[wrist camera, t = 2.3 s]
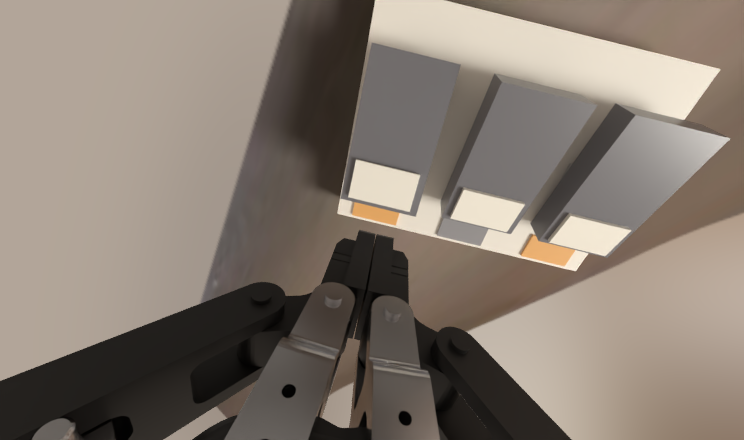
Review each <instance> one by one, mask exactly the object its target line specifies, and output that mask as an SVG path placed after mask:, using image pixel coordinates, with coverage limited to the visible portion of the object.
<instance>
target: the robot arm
mask: <svg viewBox="0 0 744 440" xmlns="http://www.w3.org/2000/svg"><path fill="white" fill-rule="evenodd" d="M374 240H375V243H374ZM393 240H394V238H392V237H387V236H383V235H379V234H377V235H376V239H375V233H370V232H366V231H362V230H359V232H358V236H357V239H356V241H354V240H350V239H346V238H344V239H342V240H341V241H340V242H338V243H337V244H336V247H335V249H334V252H333V255H332V257H331V260H330V262H329V265H328V267H327V270H326V273H325V275H324V278H323V280H322V283H321V285H319V286H317V287H316V288H315V289H314V290H313V292H312V293H310V294H307V295H302V296H285V293H284V291H283V290H282V289H281V288H280V287H279V286H277V285H275V284H273V283H268V282H258V283H253V284H250V285H248V286H245V287H243V288H240V289H237V290H235V291H232V292H230V293H227V294H224V295H222V296H219V297H217V298H214V299H211V300H209V301H206V302H204V303H201V304H199V305H196V306H193V307H191V308H188V309H186V310H183V311H181V312H178V313H175V314H173V315H170V316H168V317H165V318H162V319H160V320H157V321H155V322H152V323H149V324H147V325H144V326H142V327H139V328H136V329H134V330H131V331H129V332H126V333H124V334H121V335H118V336H116V337H113V338H111V339H108V340H105V341H103V342H100V343H98V344H95V345H93V346H90V347H87V348H85V349H83V350H80V351H77V352H75V353H72V354H69V355H67V356H64V357H62V358H59V359H57V360H54V361H51V362H49V363H46V364H43V365H41V366H38V367H36V368H33V369H31V370H28V371H25V372H23V373H20V374H17V375H15V376H13V377H10V378H7V379H5V380H2V381H0V440H163V439H165V438H166V437H168V436H170V435H171V434H173V433H174V432H176V431H177V430H179V429H181V428H182V427H184V426H185V425H187V424H189V423H190V422H192V421H193V420H195V419H196V418H198V417H199V416H201V415H203V414H204V413H206V412H207V411H209V410H211V409H212V408H214V407H215V406H217V405H219V404H220V403H222V402H223V401H225V400H226V399H228V398H230V397H231V396H233V395H234V394H236V393H237V392H239V391H241V390H242V389H244V388H245V387H247V386H249V385H250V384H252V383H253V382H255V381H256V380H257V382H256V384H255V386H254V387H253V389H252V391H251V393H250V394H249V396H248V398H247V400H246V402H245V403H244V405H243V407H242V409H241V411H240V412H239V414H238V415H236V416H233V417H230V418H228V419H225V420H223V421H221V422H219V423H217V424H215V425H213V426H212V427H210V428H208V429H207V430H205V431H204V432H202V433H201V434H199V435H198V436H197V437H195V438H194V439H192V440H571V439H570V438H569V437H568V436H567V435H566V433H564V431H563V430H562V429H561V428H560V427H559V426H558V425H557V424H556V423H555V422H554V421H553V420H552V419H551V418H550V417H549V416H548V415H547V414H546V413H545V412H544V411H543V410H542V409H541V408H540V406H539V405H538V404H537V403H536V402H535V401H534V400H533V399H532V398H531V397H530V396H529V395H528V394H527V393H526V392H525V391H524V390H523V389H522V388H521V387H520V386H519V385H518V384H517V383H516V382H515V381H514V380H513V378H512V377H510V375H509V374H508V373H507V372H506V371H505V370H504V369H503V368H502V367H501V366H500V365H499V364H498V363H497V362H496V361H495V360H494V359H493V358H492V357H491V356H490V355H489V354H488V352H487V351H486V350H484V348H483V347H482V346H481V345H480V344H479V343H478V342H477V341H476V340H475V339H474V338H473V337H472V336H471V335H470V334H468V333H467V332H465V331H463V330H461V329H459V328H455V327H445V328H442V329H441V330H440V331H439V332H436V331H434V330H432V329H430V328H428V327H426V326H425V325H423V324H422V323H420V322H419V321H418V320H417V319H416V318H415V317H414V314H413V311H412V309H411V307H410V306H409V299H408V260H407V258H406V256H405V255H404V253H403V252H400V251H396V250H393ZM373 246H374V247H373ZM357 320H358V322H357ZM356 323H357V327H356ZM355 327H356V332H355V338H354V339H357V340H360V346H359V351H358V354H357V358H356V363H355V374H354V386H353V398H352V409H351V419H350V425H349V428H339V427H337V426H335V425H333V424H331V423H330V422H328V421H326V420H324V419H323V418H322V416H323V413H324V410H325V406H326V403H327V400H328V397H329V393H330V390H331V387H332V384H333V381H334V378H335V374H336V371H337V368H338V365H339V362H340V358H341V354H342V353H343V352H344V350H345V347H346V343H347V339H348V338H353V334H354V331H355ZM462 397H463V398H462ZM469 406H470V407H469ZM473 411H474V412H473ZM477 416H478V417H477ZM484 425H485V426H484Z"/></svg>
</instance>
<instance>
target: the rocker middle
mask: <svg viewBox="0 0 744 440" xmlns="http://www.w3.org/2000/svg"><path fill="white" fill-rule="evenodd" d="M597 106H598V105H596V104H595V103H593V102H592V101H590V100H588V99H587V98H585V97H584V96H582V95H581V94H577V93H573V92H569V91H565V90H560V89H556V88H552V87H548V86H544V85H540V84H536V83H532V82H528V81H524V80H520V79H516V78H512V77H508V76H504V75H500V74H496V73H494V76H493V78H492V80H491V83H490V85H489V88H488V90H487V92H486V95H485V97H484V99H483V102H482V104H481V106H480V109H479V111H478V114H477V116H476V118H475V121H474V123H473V125H472V128H471V130H470V132H469V135H468V137H467V140H466V142H465V144H464V147H463V149H462V151H461V154H460V156H459V158H458V161H457V163H456V166H455V168H454V170H453V173H452V175H451V177H450V180H449V182H448V184H447V187H446V189H445V192H444V194H443V196H442V199H441V201H440V204H441V217H442V218H446V219H450V220H454V221H458V222H462V223H466V224H470V225H474V226H479V227H483V228H487V229H491V230H495V231H499V232H503V233H507V234H511V233H512V232H513V230H514V229H515V227H516V226H517V224H518V223H519V221H520V220H521V218H522V217H523V215H524V214H525V212H526V211H527V210H528V208H529V207H530V205H531V204H532V202H533V201H534V199H535V198H536V196H537V195H538V193H539V192H540V190H541V189H542V187H543V186H544V184H545V183H546V181H547V180H548V178H549V177H550V175H551V174H552V172H553V171H554V170H555V168H556V167H557V165H558V164H559V162H560V161H561V159H562V158H563V156H564V155H565V153H566V152H567V150H568V149H569V147H570V146H571V144H572V143H573V141H574V140H575V138H576V137H577V135H578V134H579V132H580V131H581V129H582V128H583V127H584V125H585V124H586V122H587V121H588V119H589V118H590V116H591V115H592V113H593V112H594V110H595V109H596V107H597Z"/></svg>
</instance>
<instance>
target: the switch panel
mask: <svg viewBox="0 0 744 440" xmlns="http://www.w3.org/2000/svg"><path fill="white" fill-rule="evenodd" d="M372 43H376V44H380V45H384V46H388V47H392V48H396V49H400V50H404V51H408V52H412V53H416V54H420V55H424V56H428V57H432V58H436V59H440V60H444V61H449V62H453V63H457V64H461V66H460V70H459V73H458V76H457V80H456V83H455V87H454V90H453V93H452V97H451V100H450V103H449V107H448V110H447V113H446V117H445V120H444V124H443V127H442V130H441V134H440V137H439V140H438V144H437V147H436V150H435V154H434V157H433V161H432V164H431V167H430V171H429V174H428V177H427V181H426V184H425V187H424V191H423V194H422V198H421V201H420V204H419V208H418V211H417V214H416V217H414V216H410V215H406V214H402V213H398V212H394V211H389V210H385V209H381V208H377V207H373V206H369V205H365V204H361V203H356V202H352V201H348V200H344V199H340V202H339V207H338V213H337V214H341V215H345V216H349V217H353V218H358V219H362V220H366V221H370V222H374V223H378V224H382V225H387V226H391V227H395V228H399V229H403V230H407V231H411V232H415V233H420V234H424V235H428V236H432V237H436V238H440V239H444V240H449V241H453V242H457V243H461V244H465V245H469V246H473V247H477V248H482V249H486V250H490V251H494V252H498V253H502V254H506V255H511V256H515V257H519V258H523V259H527V260H531V261H535V262H539V263H544V264H548V265H552V266H556V267H560V268H564V269H568V270H573V271H576V270H577V269H578V267H579V266H580V264H581V263H582V262H583V260H584V259H585V257H586V256H587V255H588V253H586V252H582V251H577V250H573V249H569V248H565V247H561V246H557V245H553V244H549V243H544V242H540V241H538V239H537V237H536V235H535V232H534V230H533V228H532V226H531V224H530V223H531V222H532V220H533V219H534V217H535V216H536V215H537V213H538V212H539V210H540V209H541V208H542V206H543V205H544V203H545V202H546V200H547V199H548V198H549V196H550V195H551V193H552V192H553V191H554V189H555V188H556V186H557V185H558V184H559V182H560V181H561V179H562V178H563V177H564V175H565V174H566V172H567V171H568V169H569V168H570V167H571V165H572V164H573V162H574V161H575V160H576V158H577V157H578V155H579V154H580V153H581V151H582V150H583V148H584V147H585V146H586V144H587V143H588V141H589V140H590V138H591V137H592V136H593V134H594V133H595V131H596V130H597V129H598V127H599V126H600V124H601V123H602V122H603V120H604V119H605V117H606V116H607V115H608V113H609V112H610V110H611V109H612V107H613V106H614V105H615V103H617V104H621V105H625V106H629V107H633V108H637V109H641V110H645V111H649V112H653V113H657V114H661V115H665V116H669V117H673V118H678V119H682V120H684V119H685V118H686V117H687V115H688V114H689V112H690V111H691V110H692V108H693V107H694V106H695V104H696V103H697V101H698V100H699V99H700V97H701V96H702V94H703V93H704V92H705V90H706V89H707V87H708V86H709V85H710V83H711V82H712V80H713V79H714V78H715V76H716V75H717V73H718V72H719V71H720V69H718V68H714V67H710V66H705V65H701V64H697V63H693V62H689V61H685V60H681V59H677V58H673V57H669V56H665V55H661V54H657V53H653V52H649V51H645V50H641V49H637V48H633V47H629V46H625V45H621V44H617V43H613V42H609V41H605V40H601V39H597V38H593V37H589V36H585V35H581V34H577V33H573V32H569V31H565V30H561V29H557V28H553V27H549V26H545V25H541V24H537V23H533V22H529V21H525V20H521V19H517V18H513V17H509V16H505V15H501V14H497V13H493V12H489V11H485V10H481V9H477V8H473V7H469V6H465V5H461V4H457V3H453V2H449V1H445V0H375V5H374V10H373V16H372V22H371V27H370V33H369V38H368V44H367V50H366V55H365V61H364V67H363V72H362V78H361V83H360V89H359V95H358V100H357V106H356V112H355V117H354V123H353V129H352V134H351V140H350V145H349V151H348V157H347V162H346V168H347V163H348V158H349V153H350V148H351V143H352V138H353V133H354V129H355V124H356V119H357V114H358V109H359V104H360V99H361V94H362V89H363V84H364V79H365V74H366V69H367V64H368V59H369V54H370V49H371V44H372ZM494 73H496V74H500V75H504V76H508V77H512V78H516V79H520V80H524V81H528V82H532V83H536V84H540V85H544V86H548V87H552V88H556V89H560V90H565V91H569V92H573V93H577V94H581V95H582V96H584V97H585V98H587V99H588V100H590V101H592V102H593V103H595V104H596V105H598V106H597V107H596V109H595V110H594V112H593V113H592V115H591V116H590V118H589V119H588V121H587V122H586V124H585V125H584V127H583V128H582V129H581V131H580V132H579V134H578V135H577V137H576V138H575V140H574V141H573V143H572V144H571V146H570V147H569V149H568V150H567V152H566V153H565V155H564V156H563V158H562V159H561V161H560V162H559V164H558V165H557V167H556V168H555V170H554V171H553V172H552V174H551V175H550V177H549V178H548V180H547V181H546V183H545V184H544V186H543V187H542V189H541V190H540V192H539V193H538V195H537V196H536V198H535V199H534V201H533V202H532V204H531V205H530V207H529V208H528V210H527V211H526V212H525V214H524V215H523V217H522V218H521V220H520V221H519V223H518V224H517V226H516V227H515V229H514V230H513V232H512V233H511V234H507V233H503V232H499V231H495V230H491V229H487V228H483V227H479V226H474V225H470V224H466V223H462V222H458V221H454V220H450V219H446V218H442V217H441V204H440V201H441V199H442V196H443V194H444V192H445V189H446V187H447V184H448V182H449V180H450V177H451V175H452V173H453V170H454V168H455V166H456V163H457V161H458V158H459V156H460V154H461V151H462V149H463V147H464V144H465V142H466V140H467V137H468V135H469V132H470V130H471V128H472V125H473V123H474V121H475V118H476V116H477V114H478V111H479V109H480V106H481V104H482V102H483V99H484V97H485V95H486V92H487V90H488V88H489V85H490V83H491V80H492V78H493V76H494ZM346 168H345V173H346ZM344 178H345V174H344ZM343 183H344V179H343ZM342 188H343V185H342ZM341 193H342V191H341ZM340 198H341V196H340Z"/></svg>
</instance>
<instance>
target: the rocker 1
mask: <svg viewBox="0 0 744 440" xmlns="http://www.w3.org/2000/svg"><path fill="white" fill-rule="evenodd" d="M460 66H461V64H457V63H453V62H449V61H444V60H440V59H436V58H432V57H428V56H424V55H420V54H416V53H412V52H408V51H404V50H400V49H396V48H392V47H388V46H384V45H380V44H376V43H372V44H371V49H370V54H369V59H368V64H367V69H366V74H365V79H364V84H363V89H362V94H361V99H360V104H359V109H358V114H357V119H356V124H355V129H354V133H353V138H352V143H351V148H350V153H349V158H348V163H347V168H346V173H345V178H344V183H343V188H342V193H341V198H340V199H344V200H348V201H352V202H356V203H361V204H365V205H369V206H373V207H377V208H381V209H385V210H389V211H394V212H398V213H402V214H406V215H410V216H414V217H416V214H417V211H418V208H419V204H420V201H421V198H422V194H423V191H424V187H425V184H426V181H427V177H428V174H429V171H430V167H431V164H432V161H433V157H434V154H435V150H436V147H437V144H438V140H439V137H440V134H441V130H442V127H443V124H444V120H445V117H446V113H447V110H448V107H449V103H450V100H451V97H452V93H453V90H454V87H455V83H456V80H457V76H458V73H459V70H460Z"/></svg>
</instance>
